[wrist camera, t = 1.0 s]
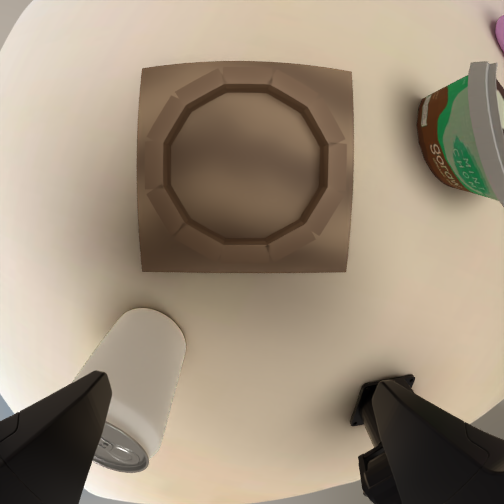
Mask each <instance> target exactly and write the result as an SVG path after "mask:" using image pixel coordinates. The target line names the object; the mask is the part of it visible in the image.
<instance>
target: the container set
mask: <svg viewBox="0 0 504 504" xmlns="http://www.w3.org/2000/svg"><path fill="white" fill-rule="evenodd" d="M495 34H496V38H497V41H498V43H499V45H500V47H501V49H502V50H503V52H504V15H503V16H501V17H500V18H499V19H498V20H497V24H496V30H495Z"/></svg>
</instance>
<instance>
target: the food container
mask: <svg viewBox="0 0 504 504" xmlns="http://www.w3.org/2000/svg"><path fill="white" fill-rule="evenodd" d="M496 71H497V63H493V64H489V63H488V62H487V61H486V62H473V63H471V64H470V69H469V75H467V76H465V77H463V78H461V79H459V80H457V81H456V82H454V83H452V84H450V85H448V86H446V87H444V88H442V89H440V90H438V91H436V92H435V93H433V94H431V95H429V96H427V97H425V98H423V99H422V101H421V104H420V106H419V109H418V119H417V130H418V139H419V144H420V147H421V150H422V153H423V156H424V159H425V161H426V163H427V164H428V166H429V168H430V170H431V171H432V172H433V174H434V175H435V176H436V177H437V178H438V179H439V180H440V181H441V182H443V183H444V184H446V185H448V186H450V187H453V188H457V189H461V190H464V191H468V192H471V193H475V194H478V195H482V196H485V197H488V198H491V199H495V200H498V201H500V203H501V204H502V206H503V207H504V89H503V87H502V86H501V85H500V83H499V82H498V80H497V79H496Z"/></svg>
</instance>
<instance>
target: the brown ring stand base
mask: <svg viewBox="0 0 504 504" xmlns="http://www.w3.org/2000/svg"><path fill="white" fill-rule="evenodd" d="M353 168H354V113H353V88H352V72H350V71H344V70H338V69H332V68H326V67H318V66H310V65H301V64H291V63H278V62H258V61H216V62H196V63H183V64H173V65H164V66H156V67H149V68H142V75H141V85H140V97H139V111H138V131H137V203H138V224H139V239H140V252H141V263H142V272H197V273H319V272H346V268H347V259H348V249H349V238H350V226H351V212H352V195H353Z"/></svg>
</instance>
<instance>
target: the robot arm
mask: <svg viewBox="0 0 504 504" xmlns="http://www.w3.org/2000/svg"><path fill="white" fill-rule="evenodd" d="M414 380H415V377H414V376H413V375H408V376H404V377H399V378H394V379H389V380H383V381H378V382H372V383H367V384H365V385H363V386H362V388H361V392H360V395H359V398H358V401H357V404H356V407H355V410H354V412H353V415H352V418H351V421H350V424H351V426H358V425H363V424H364V425H365V428H366V430H367V432H368V434H369V437H370V439H371V441H372V443H373V446H374V448H373V449H371V450H370V451H368V452H367V453H365V454H362V455H360V456H358V459H359V469H360V476H361V483H362V489H363V494H364V495H365V496H367V497H368V498H369V499H370V500H371V501H372V502H373V503H374V504H504V440H503V439H500V438H498V437H495V436H493V435H490V434H488V433H486V432H483V431H481V430H479V429H477V428H475V427H473V426H471V425H470V424H468V423H466V422H465V423H464V421H462V420H460V419H459V418H457V417H455V416H453V415H451V414H450V413H448V412H446V411H444V410H442V409H441V408H439V407H437V406H435V405H434V404H432V403H430V402H428V401H427V400H425V399H423V398H421V397H420V396H418V395H416V394H415V393H414V392H413V390H412V389H411V388H412V385H413V383H414ZM111 398H112V389H111V385H110V382H109V378H108V375H107V374H106V373H105V372H102V371H97V370H95V371H93V372H91V373H89V374H87V375H85V376H84V377H82V378H80V379H78V380H77V381H75V382H73V383H71V384H69V385H68V386H66V387H64V388H62V389H60V390H58V391H57V392H55V393H53V394H51V395H49V396H48V397H46V398H44V399H42V400H40V401H38V402H36V403H35V404H33V405H31V406H29V407H27V408H25V409H23V410H21V411H20V413H19V412H18V413H16V414H14V415H12V416H10V417H8V418H6V419H4V420H2V421H0V504H79V500H80V497H81V494H82V490H83V488H84V484H85V481H86V478H87V475H88V472H89V469H90V466H91V464H92V461H93V458H94V455H95V452H96V449H97V447H98V444H99V441H100V439H101V436H102V433H103V429H104V426H105V421H106V417H107V413H108V410H109V406H110V402H111Z"/></svg>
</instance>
